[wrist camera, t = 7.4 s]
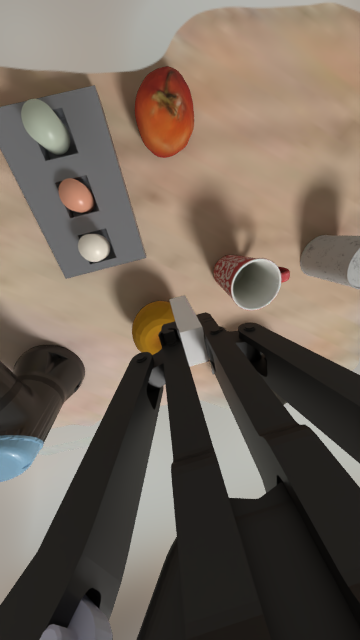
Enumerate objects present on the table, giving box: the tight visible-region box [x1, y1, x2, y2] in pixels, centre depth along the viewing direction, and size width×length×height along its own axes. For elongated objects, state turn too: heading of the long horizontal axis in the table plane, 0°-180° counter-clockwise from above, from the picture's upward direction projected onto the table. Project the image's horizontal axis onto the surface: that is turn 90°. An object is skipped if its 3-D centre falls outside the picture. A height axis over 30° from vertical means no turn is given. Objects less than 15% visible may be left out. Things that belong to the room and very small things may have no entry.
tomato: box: [135, 66, 194, 158], centre depth 29 cm, size 9×9×8 cm
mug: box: [214, 255, 290, 310], centre depth 38 cm, size 13×9×14 cm
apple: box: [132, 301, 175, 355], centre depth 42 cm, size 13×13×11 cm
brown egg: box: [59, 178, 95, 213], centre depth 32 cm, size 4×4×4 cm
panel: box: [0, 85, 146, 279], centre depth 33 cm, size 16×24×4 cm, turn 13°
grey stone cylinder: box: [300, 235, 360, 289], centre depth 40 cm, size 10×10×12 cm
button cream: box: [78, 234, 110, 262], centre depth 34 cm, size 4×4×4 cm
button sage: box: [21, 99, 70, 155], centre depth 27 cm, size 4×4×4 cm
